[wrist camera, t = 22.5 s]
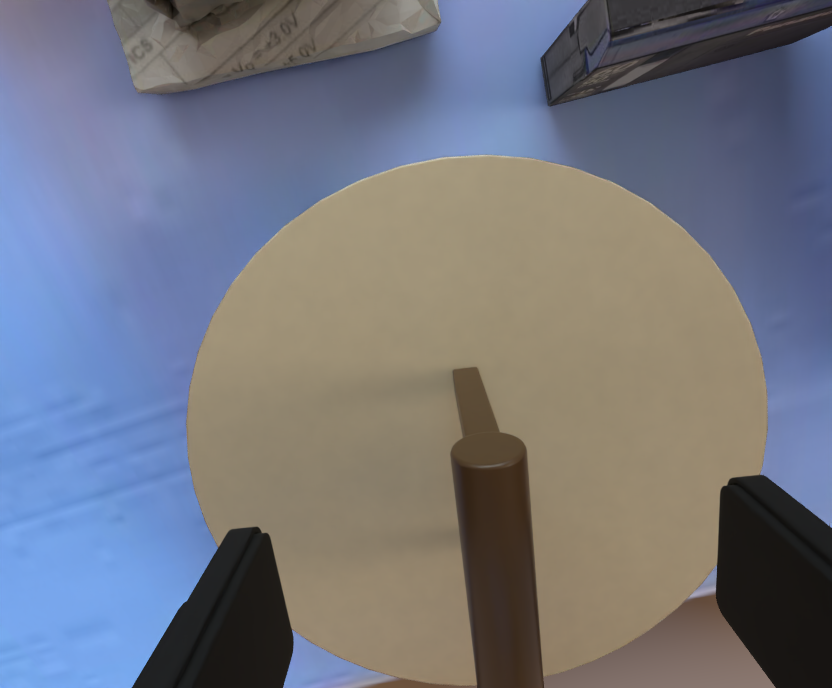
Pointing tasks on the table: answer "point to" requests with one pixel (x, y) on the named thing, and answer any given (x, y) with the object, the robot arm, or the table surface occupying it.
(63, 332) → the table surface
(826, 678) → the robot arm
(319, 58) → the packaged product
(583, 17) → the mini dv tape
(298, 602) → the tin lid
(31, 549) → the table surface
